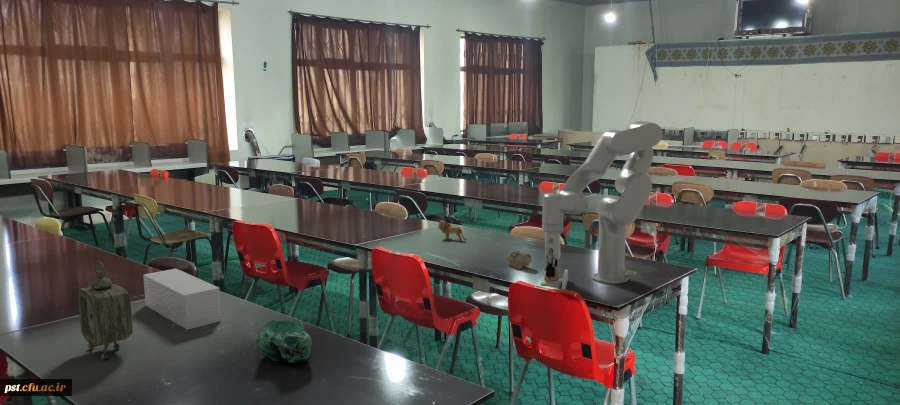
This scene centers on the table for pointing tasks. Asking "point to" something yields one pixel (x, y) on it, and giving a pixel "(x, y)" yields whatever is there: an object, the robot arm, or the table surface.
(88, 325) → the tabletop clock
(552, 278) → the roller toy
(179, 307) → the stack of papers
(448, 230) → the lion figurine
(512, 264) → the rock
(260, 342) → the mineral
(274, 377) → the table surface
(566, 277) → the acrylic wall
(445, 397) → the table surface
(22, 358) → the table surface
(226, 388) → the table surface
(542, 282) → the mat
